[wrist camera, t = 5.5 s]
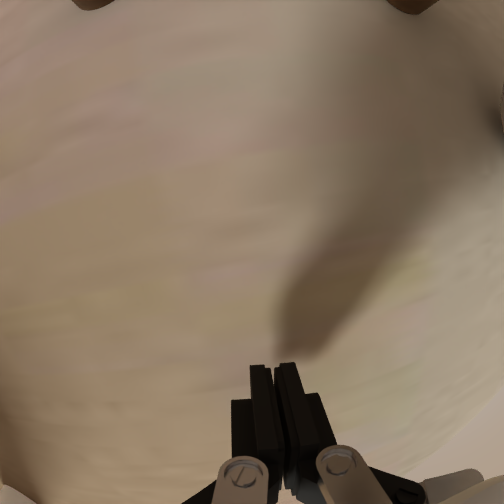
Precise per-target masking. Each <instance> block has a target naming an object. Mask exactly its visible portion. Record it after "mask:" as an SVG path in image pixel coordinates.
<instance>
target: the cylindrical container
mask: <svg viewBox="0 0 504 504" xmlns="http://www.w3.org/2000/svg"><path fill="white" fill-rule="evenodd" d="M0 504H36V503H35V502H34V501H32V500H31V499H29V498H28V497H26V496H25V495H23V494H22V493H20V492H19V491H17V490H15V489H14V488H12V487H10V486H8V485H5V484H4V485H3V487H2V489H1V491H0Z"/></svg>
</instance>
